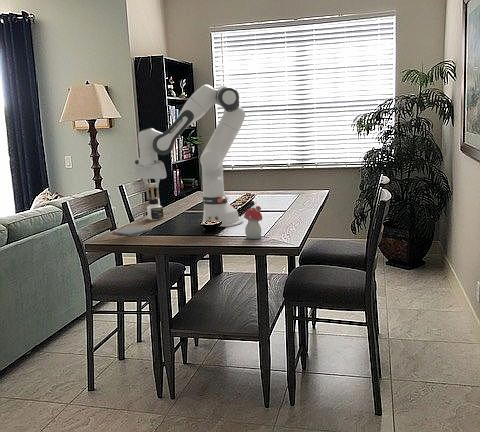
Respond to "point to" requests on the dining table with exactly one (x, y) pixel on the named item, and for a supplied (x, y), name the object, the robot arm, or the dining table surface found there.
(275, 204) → the dining table surface
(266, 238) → the dining table surface
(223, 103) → the robot arm
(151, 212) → the medicine bottle
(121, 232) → the mat
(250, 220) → the decorative ornament
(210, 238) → the dining table surface
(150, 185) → the mini stool
